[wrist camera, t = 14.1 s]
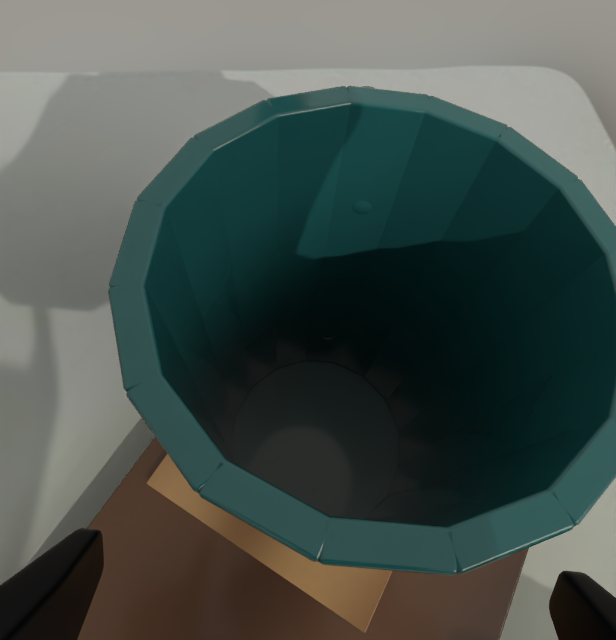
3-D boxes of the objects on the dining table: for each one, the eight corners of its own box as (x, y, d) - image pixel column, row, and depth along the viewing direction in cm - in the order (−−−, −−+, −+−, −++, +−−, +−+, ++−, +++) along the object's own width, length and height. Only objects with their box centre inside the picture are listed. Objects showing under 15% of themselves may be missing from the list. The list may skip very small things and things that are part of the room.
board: (545, 444, 20) (569, 435, 18) (316, 1122, 12) (322, 1218, 10) (274, 292, 22) (274, 273, 20) (-74, 766, 14) (-119, 796, 12)
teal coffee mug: (408, 554, 16) (739, 600, 5) (205, 537, 16) (26, 540, 4) (403, 300, 20) (563, 4, 9) (246, 284, 20) (208, -38, 9)
